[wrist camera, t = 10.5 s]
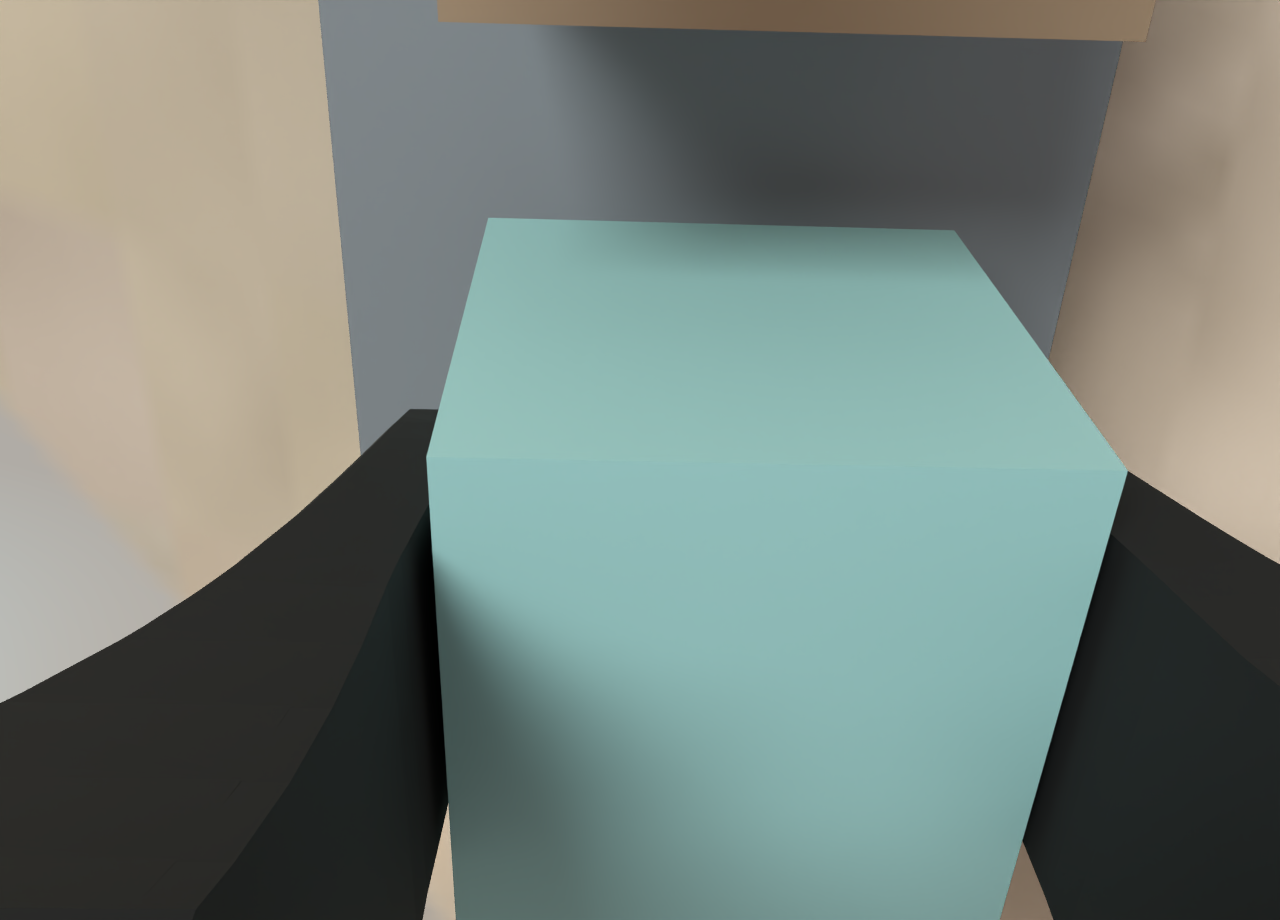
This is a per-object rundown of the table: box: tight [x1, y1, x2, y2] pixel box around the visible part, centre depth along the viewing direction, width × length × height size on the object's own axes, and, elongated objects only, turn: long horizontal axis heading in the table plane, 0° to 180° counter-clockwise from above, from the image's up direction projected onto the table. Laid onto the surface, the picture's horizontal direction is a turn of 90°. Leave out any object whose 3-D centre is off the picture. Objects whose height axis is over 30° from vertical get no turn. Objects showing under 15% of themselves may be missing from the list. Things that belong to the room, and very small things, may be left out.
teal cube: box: [426, 218, 1128, 920], centre depth 11 cm, size 4×4×4 cm
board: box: [318, 0, 1123, 455], centre depth 13 cm, size 8×12×2 cm, turn 178°
